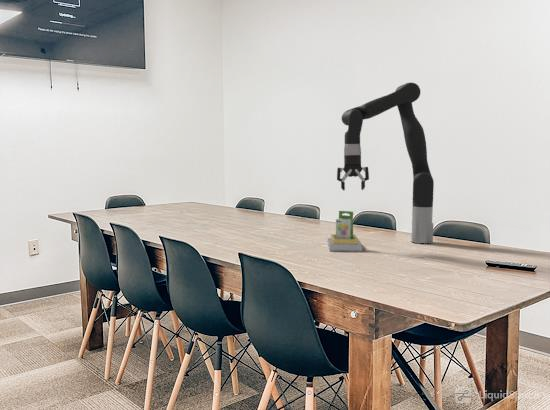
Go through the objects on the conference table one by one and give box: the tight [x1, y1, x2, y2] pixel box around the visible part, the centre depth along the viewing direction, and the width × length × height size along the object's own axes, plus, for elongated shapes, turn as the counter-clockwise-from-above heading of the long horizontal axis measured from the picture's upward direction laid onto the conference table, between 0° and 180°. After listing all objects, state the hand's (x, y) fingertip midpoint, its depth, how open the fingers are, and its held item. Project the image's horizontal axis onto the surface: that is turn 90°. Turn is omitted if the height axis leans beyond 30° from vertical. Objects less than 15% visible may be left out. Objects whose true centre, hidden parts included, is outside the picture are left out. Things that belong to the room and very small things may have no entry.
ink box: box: [335, 210, 354, 239], centre depth 241 cm, size 7×4×13 cm, turn 62°
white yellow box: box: [327, 233, 363, 252], centre depth 241 cm, size 14×16×6 cm
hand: (353, 190), depth 245 cm, fingers open, 8 cm apart
